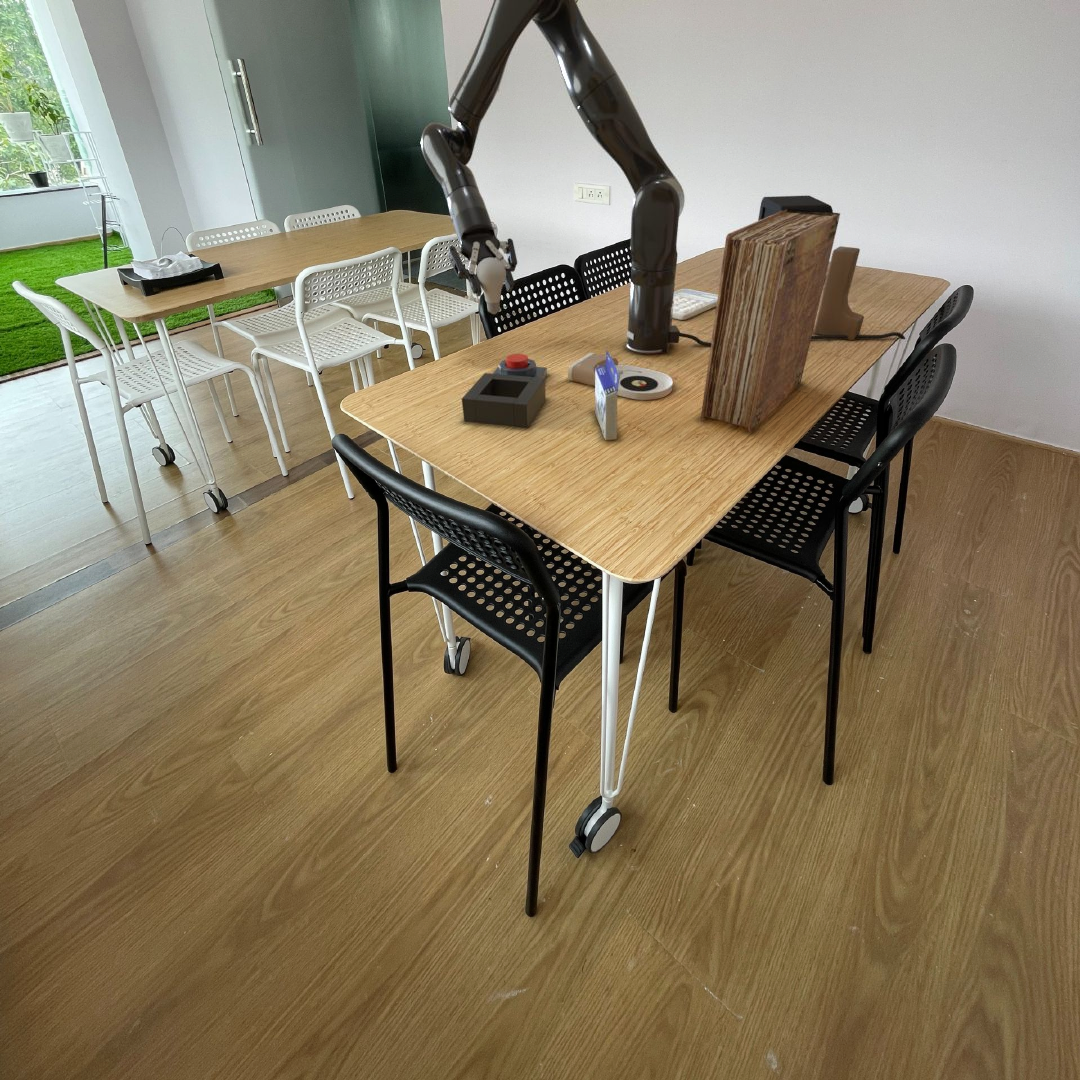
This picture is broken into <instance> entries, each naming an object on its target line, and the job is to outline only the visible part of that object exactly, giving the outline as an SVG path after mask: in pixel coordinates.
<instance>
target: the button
mask: <svg viewBox="0 0 1080 1080" xmlns="http://www.w3.org/2000/svg"><path fill="white" fill-rule="evenodd" d="M528 359H529V356H528V355H526V354H523V353H512V354H509V355H507V356H506V357H505V360H506V365H507V367H508V368H510V369H522V368H526V367H528Z"/></svg>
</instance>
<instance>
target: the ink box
mask: <svg viewBox="0 0 1080 1080" xmlns="http://www.w3.org/2000/svg"><path fill="white" fill-rule="evenodd" d="M605 353H606V354H605V356H606V365H604V366H601V367H598V368H596V369H595V386H594V414H595V416H596V420H597V422H598V425H599V427H600V429H601V433H602V436H603V438H604V440H605V441H613V440H614V441H615V440H617V439H618V395H617V392H618V386H619V379H620V375H619V373H618V371H617V369H616V367H615V365H614V362H613V360H612V358H613V357H612V356H611V354H610V353H609V351H608V350H605ZM611 357H612V358H611ZM611 368H613V372H614V375H613V373H612V371H611Z"/></svg>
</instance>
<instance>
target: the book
mask: <svg viewBox="0 0 1080 1080" xmlns="http://www.w3.org/2000/svg"><path fill="white" fill-rule="evenodd" d="M840 216H841V213H840V212H833V213H832V212H819V211H806V210H794V209H785V210H783V211H780V212H778V213H776V214H773V215H771V216H769V217H766V218H764V219H762V220H759V221H758V220H757V221H755V222H752V223H750V224H748V225H745V226H743V227H740V228H738V229H735V230H733V231H732V232H729V233H727V234H726V237H725V243H724V250H723V256H722V257H723V258H722V264H721V272H720V278H719V284H718V293H717V295H718V299H717V306H716V307H715V314H714V321H713V328H712V336H711V342H710V343H711V346H710V350H709V355H708V363H707V371H706V379H705V384H704V392H703V399H702V405H701V412H700V420H702V421H704V420H705V419H706V418H708V419H713V420H716V421H719V422H720V421H721V422H724V423H728V424H732V425H736V426H740V427H743V428H747V429H748V430H747V431H748V432H750V433H752V432H753V431H755V429H756V428H757V427H758V426H759V425H760V424H761V423H762V422H763V421H764V420H765V419H766V418H767V417H768V416H770V414H771V413H772V412H773V411H775V410H776V408H778V406H779V405H780V404H782V403H783V401H785V400H786V398H788V397H789V396H790V395H791V394H792V392H794V391H795V389H797V388H798V387H799V386H800V385H801V383H802V380H803V375H804V371H805V367H806V361H807V358H808V353H809V349H810V345H811V340H812V339H811V337H812V336H813V333H814V329H815V325H816V321H817V316H818V312H819V308H820V304H821V299H822V295H823V291H824V286H825V282H826V278H827V274H828V269H829V265H830V261H831V257H832V252H833V247H834V242H835V237H836V234H837V230H838V225H839V222H840V221H839V220H840Z"/></svg>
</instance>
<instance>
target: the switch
mask: <svg viewBox="0 0 1080 1080" xmlns="http://www.w3.org/2000/svg"><path fill="white" fill-rule="evenodd" d="M491 374H502V375H514V376H526V377H538V378H545V379H546V377H547V376H548V367H544V366H537V363H536V361H535V360H533V359H531V358H528V367H526V368H522V369H510V368H508V367H507V365H506V359H503V360H502V361H500V363H498V367H496V369H495V370H494V371H493V372H492V373H491Z"/></svg>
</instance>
